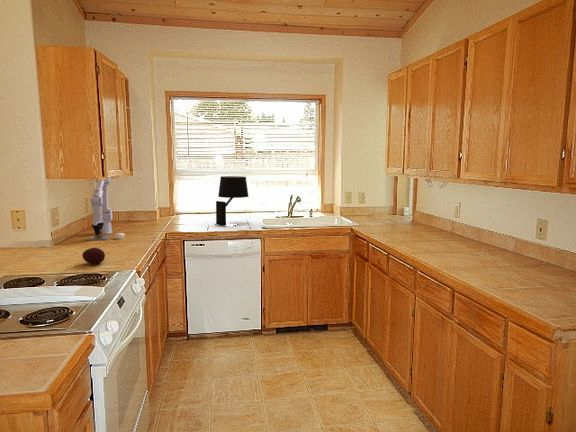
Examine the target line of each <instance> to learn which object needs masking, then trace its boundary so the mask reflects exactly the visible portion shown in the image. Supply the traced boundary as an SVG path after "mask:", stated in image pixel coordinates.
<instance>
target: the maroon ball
mask: <svg viewBox="0 0 576 432" xmlns="http://www.w3.org/2000/svg"><path fill="white" fill-rule="evenodd" d="M81 256H82V258H83V260H84V262H87V263H88V264H94V265H95V264H100V263H102V262H104V260H105V258H106V254H105V252H104V251H103V250H102V249H101V248H99V247H91V248H88V249H85V250H84V251H83V252H82V255H81Z"/></svg>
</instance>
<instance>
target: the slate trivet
mask: <svg viewBox="0 0 576 432" xmlns="http://www.w3.org/2000/svg"><path fill="white" fill-rule="evenodd" d="M109 238H111V235H104V236H103V237H99V238H95V235H91V236H89V237H88V238H87V239H86V242H87V241H106V240H108V239H109Z"/></svg>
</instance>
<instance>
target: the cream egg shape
mask: <svg viewBox="0 0 576 432" xmlns="http://www.w3.org/2000/svg"><path fill="white" fill-rule="evenodd" d="M114 239H115V240H124V239H125V233H123V232H117V233H114Z"/></svg>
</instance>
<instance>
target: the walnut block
mask: <svg viewBox="0 0 576 432" xmlns="http://www.w3.org/2000/svg"><path fill="white" fill-rule="evenodd" d="M93 231H94V230H93ZM93 233H95V231H94V232H93ZM94 236H95V238H99V237H103V236H105V234H103V229H100V233H99V235H95V234H94Z"/></svg>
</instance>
